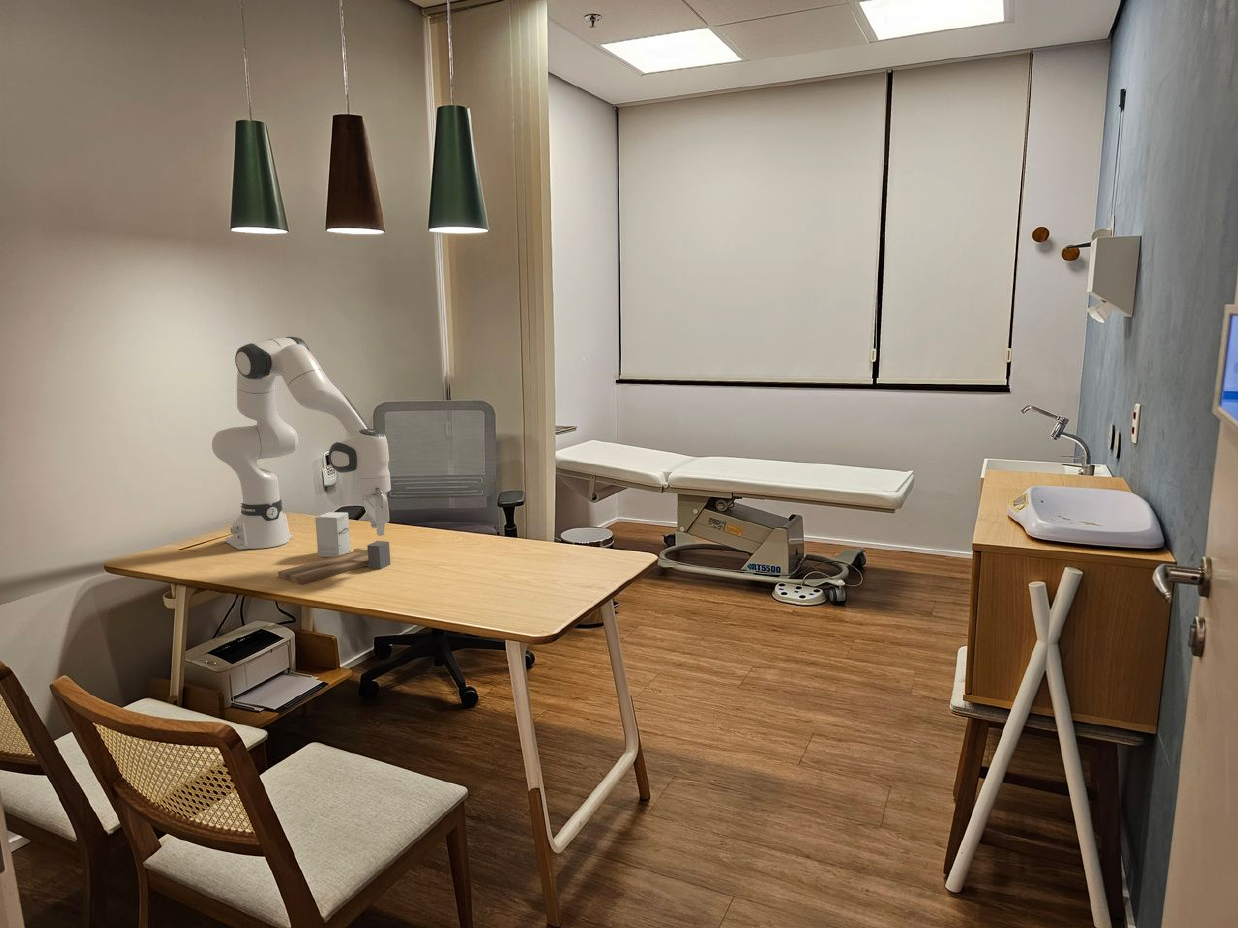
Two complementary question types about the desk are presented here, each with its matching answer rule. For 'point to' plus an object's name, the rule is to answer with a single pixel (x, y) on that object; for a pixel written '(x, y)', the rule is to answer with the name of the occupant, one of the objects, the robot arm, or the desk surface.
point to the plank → (325, 568)
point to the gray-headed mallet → (376, 554)
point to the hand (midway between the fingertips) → (377, 531)
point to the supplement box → (332, 534)
